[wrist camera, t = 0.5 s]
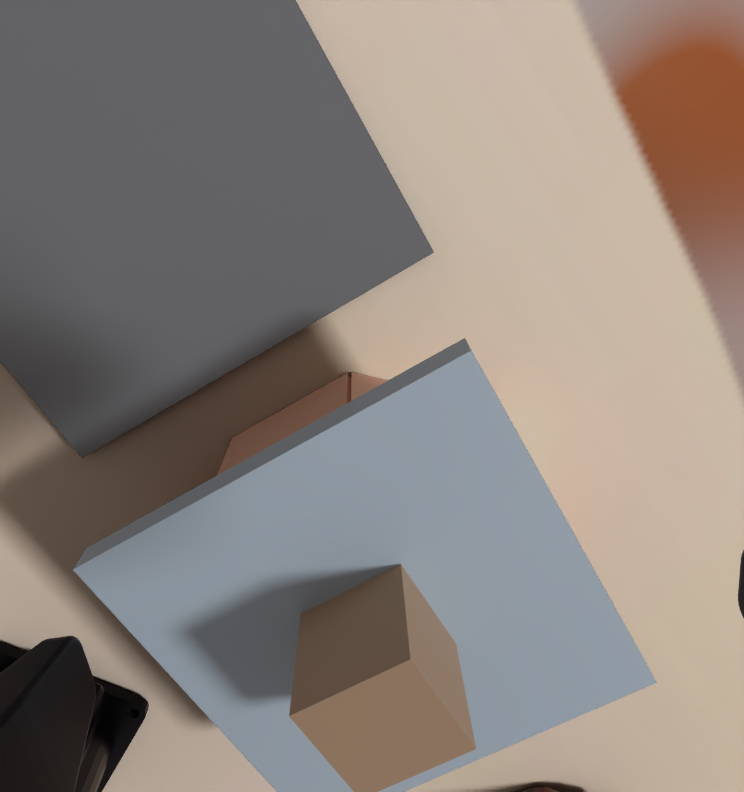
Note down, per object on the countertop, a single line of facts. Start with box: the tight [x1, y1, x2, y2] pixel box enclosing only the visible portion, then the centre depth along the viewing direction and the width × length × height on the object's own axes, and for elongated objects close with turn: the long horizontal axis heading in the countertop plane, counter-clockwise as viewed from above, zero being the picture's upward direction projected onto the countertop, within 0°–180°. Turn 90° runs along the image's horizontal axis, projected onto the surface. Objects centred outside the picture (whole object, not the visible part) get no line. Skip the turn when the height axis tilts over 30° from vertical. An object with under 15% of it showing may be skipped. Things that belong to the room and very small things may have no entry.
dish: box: [216, 372, 387, 476], centre depth 22 cm, size 11×11×4 cm
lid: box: [73, 338, 657, 792], centre depth 18 cm, size 12×12×4 cm
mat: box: [0, 0, 434, 458], centre depth 19 cm, size 13×13×1 cm
